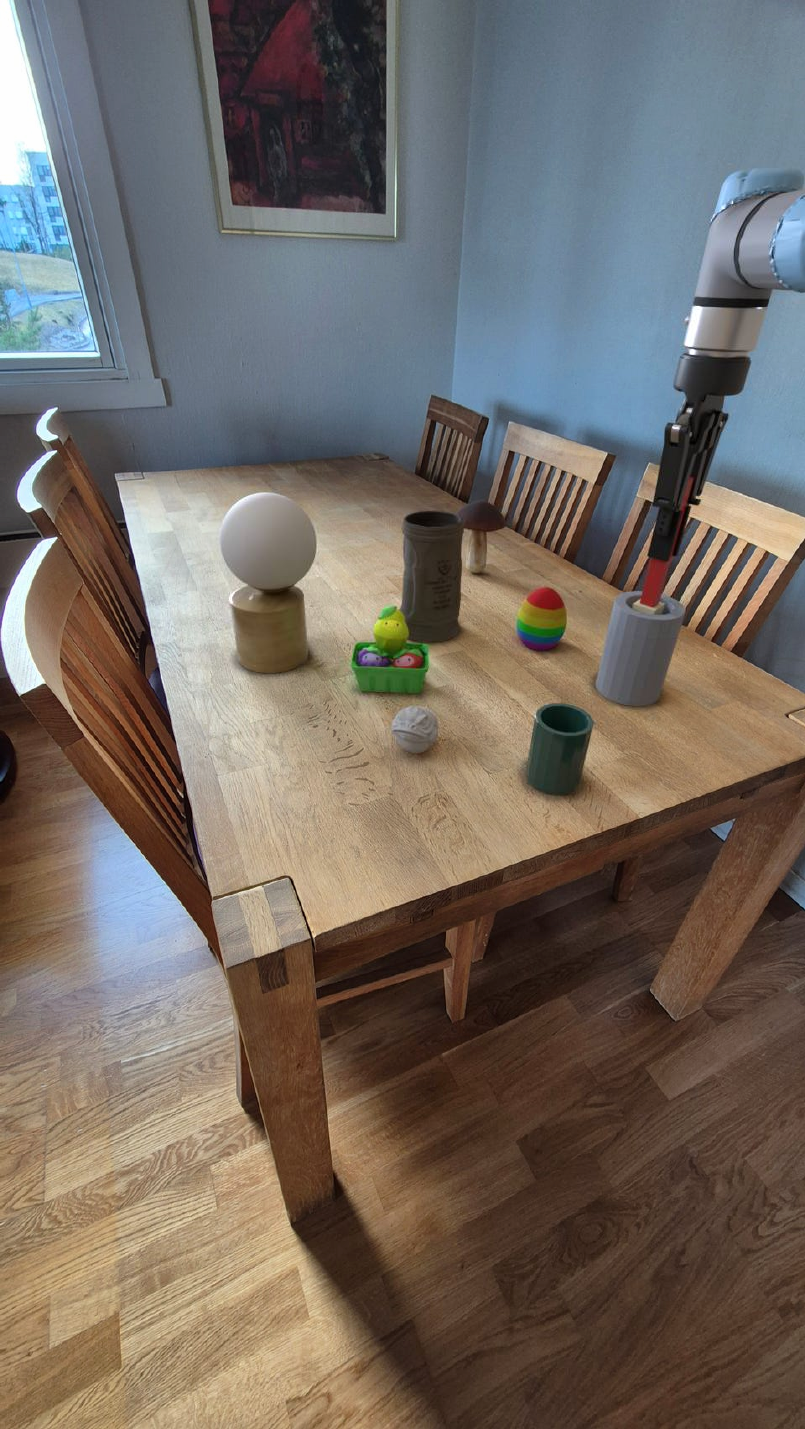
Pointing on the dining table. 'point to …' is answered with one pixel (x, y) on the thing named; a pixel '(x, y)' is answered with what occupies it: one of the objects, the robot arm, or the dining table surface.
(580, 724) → the pen pot
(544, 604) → the decorative egg
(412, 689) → the fruit basket
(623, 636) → the vase
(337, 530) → the dining table surface
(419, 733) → the grey wrinkled ball
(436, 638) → the dark grey hollow cylinder
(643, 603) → the paint brush
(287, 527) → the lamp
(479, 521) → the decorative mushroom
